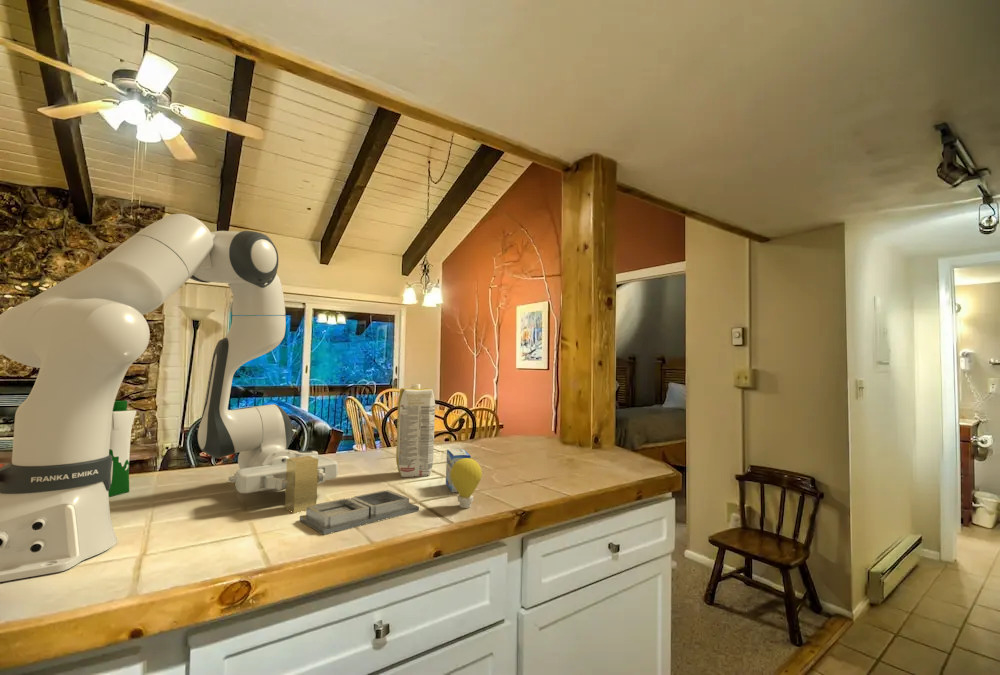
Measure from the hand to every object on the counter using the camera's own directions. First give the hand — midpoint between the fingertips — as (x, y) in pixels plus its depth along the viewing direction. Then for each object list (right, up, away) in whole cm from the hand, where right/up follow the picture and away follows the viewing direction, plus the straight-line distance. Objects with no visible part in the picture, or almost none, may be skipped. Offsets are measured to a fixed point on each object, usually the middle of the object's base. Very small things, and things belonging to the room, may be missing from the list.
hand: (303, 481), depth 95 cm
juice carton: (+17, -8, +31) cm, 36 cm away
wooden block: (-1, -6, 0) cm, 6 cm away
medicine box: (+30, -7, +18) cm, 35 cm away
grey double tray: (+13, -6, -3) cm, 14 cm away
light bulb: (+32, -7, +4) cm, 33 cm away
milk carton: (-47, -5, +7) cm, 47 cm away
